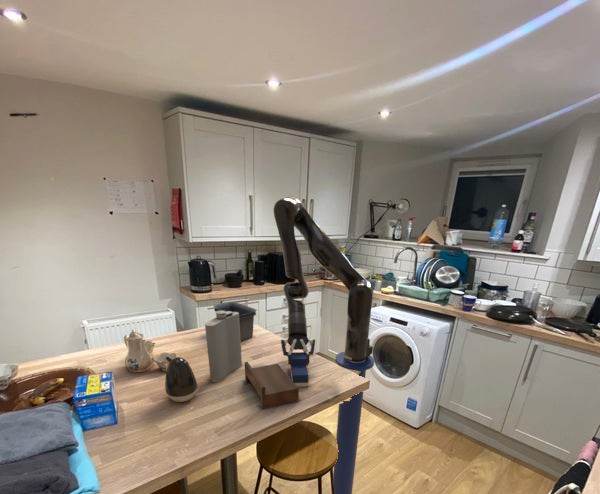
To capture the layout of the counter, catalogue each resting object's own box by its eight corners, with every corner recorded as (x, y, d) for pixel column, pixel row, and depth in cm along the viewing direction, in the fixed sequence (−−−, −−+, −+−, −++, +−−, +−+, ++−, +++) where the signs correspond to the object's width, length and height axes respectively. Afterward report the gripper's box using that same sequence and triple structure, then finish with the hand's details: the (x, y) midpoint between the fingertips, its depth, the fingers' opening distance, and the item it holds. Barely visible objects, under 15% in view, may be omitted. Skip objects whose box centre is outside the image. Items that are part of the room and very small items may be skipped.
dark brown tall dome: (183, 387, 121) (178, 348, 115) (204, 395, 116) (200, 355, 110) (160, 400, 113) (152, 359, 107) (181, 409, 108) (175, 367, 102)
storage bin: (260, 336, 167) (259, 309, 161) (236, 345, 156) (234, 316, 150) (233, 326, 180) (232, 300, 174) (209, 334, 169) (206, 306, 163)
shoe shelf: (277, 374, 131) (277, 356, 128) (298, 400, 115) (298, 380, 111) (245, 381, 126) (244, 362, 123) (262, 409, 110) (261, 387, 106)
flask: (234, 362, 141) (230, 304, 130) (243, 364, 139) (240, 306, 128) (207, 380, 126) (200, 317, 116) (217, 383, 124) (211, 319, 114)
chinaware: (185, 371, 136) (184, 332, 130) (147, 383, 123) (143, 340, 117) (147, 353, 150) (144, 317, 145) (108, 362, 138) (104, 323, 132)
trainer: (290, 369, 136) (290, 352, 133) (305, 368, 136) (305, 352, 133) (292, 386, 123) (292, 368, 120) (308, 386, 124) (309, 368, 120)
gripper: (279, 321, 132) (280, 362, 126) (315, 321, 133) (318, 361, 127) (279, 329, 139) (280, 368, 133) (313, 329, 140) (316, 367, 134)
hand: (298, 364), depth 130 cm, fingers closed on trainer, 5 cm apart
